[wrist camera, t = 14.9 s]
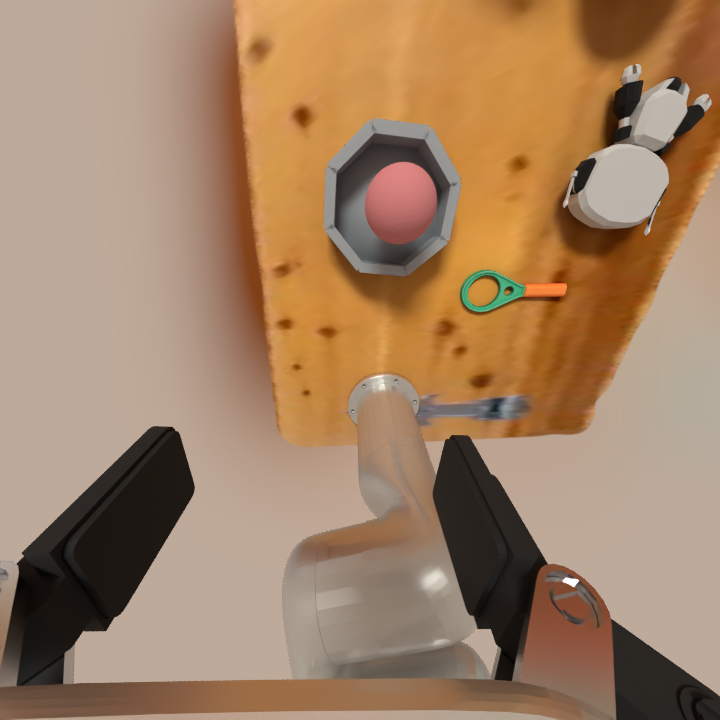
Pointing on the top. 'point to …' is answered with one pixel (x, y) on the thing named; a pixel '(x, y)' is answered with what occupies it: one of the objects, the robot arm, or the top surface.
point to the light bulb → (400, 203)
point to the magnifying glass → (516, 290)
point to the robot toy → (633, 154)
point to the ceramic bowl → (350, 184)
